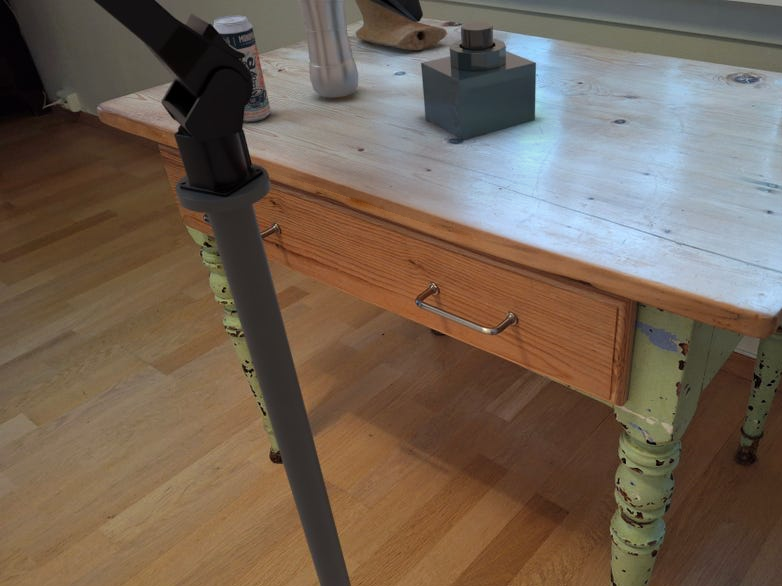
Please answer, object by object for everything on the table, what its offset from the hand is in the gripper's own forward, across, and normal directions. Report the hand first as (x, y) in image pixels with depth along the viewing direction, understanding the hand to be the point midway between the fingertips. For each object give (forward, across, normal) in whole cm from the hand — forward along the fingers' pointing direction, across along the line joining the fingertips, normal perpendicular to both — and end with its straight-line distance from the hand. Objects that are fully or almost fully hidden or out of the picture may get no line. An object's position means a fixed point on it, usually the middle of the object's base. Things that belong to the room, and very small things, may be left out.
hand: (419, 18), depth 79 cm
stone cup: (+20, +34, -18) cm, 43 cm away
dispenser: (+15, 0, +2) cm, 15 cm away
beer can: (+2, +25, +12) cm, 28 cm away
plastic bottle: (+9, +22, +3) cm, 24 cm away
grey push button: (+8, -2, -3) cm, 9 cm away
